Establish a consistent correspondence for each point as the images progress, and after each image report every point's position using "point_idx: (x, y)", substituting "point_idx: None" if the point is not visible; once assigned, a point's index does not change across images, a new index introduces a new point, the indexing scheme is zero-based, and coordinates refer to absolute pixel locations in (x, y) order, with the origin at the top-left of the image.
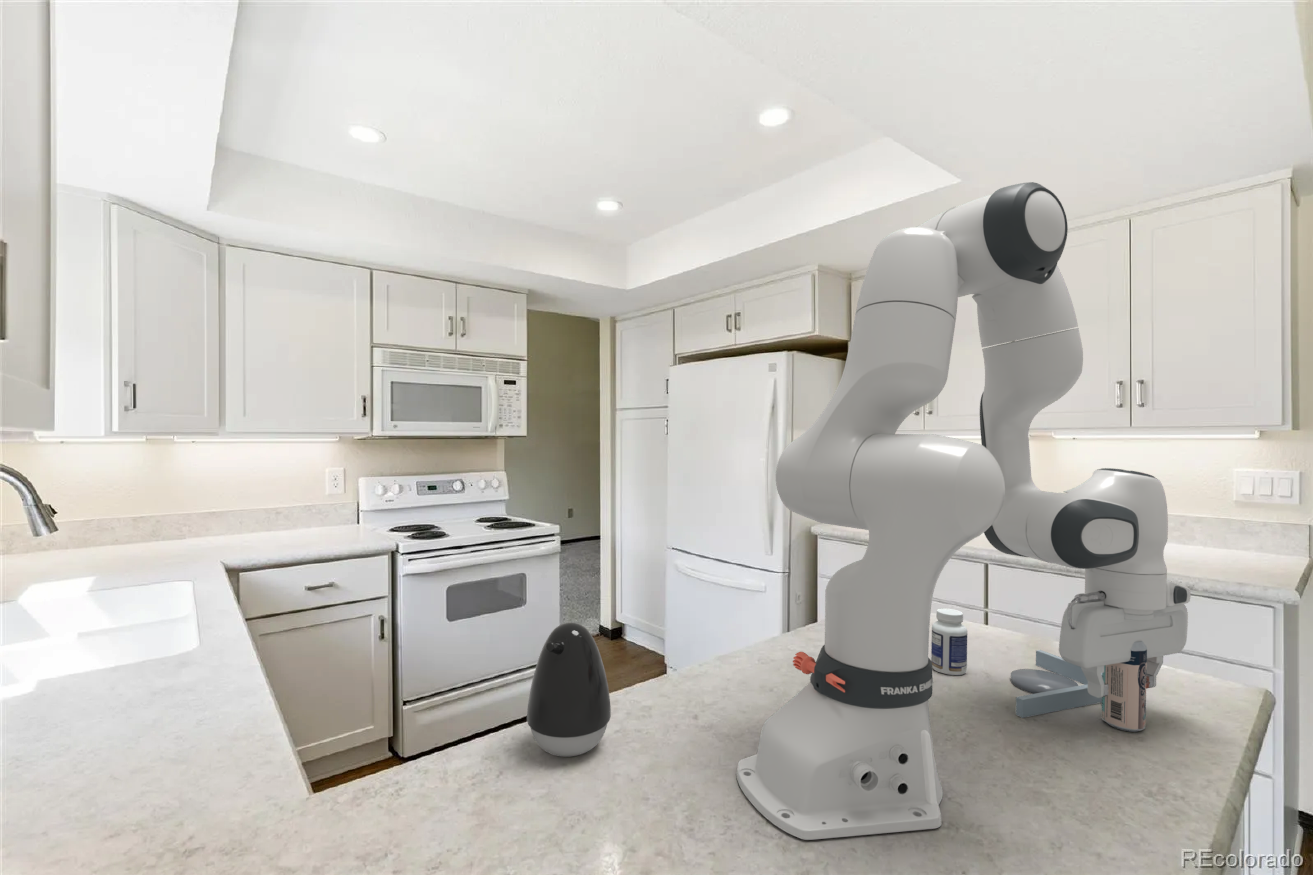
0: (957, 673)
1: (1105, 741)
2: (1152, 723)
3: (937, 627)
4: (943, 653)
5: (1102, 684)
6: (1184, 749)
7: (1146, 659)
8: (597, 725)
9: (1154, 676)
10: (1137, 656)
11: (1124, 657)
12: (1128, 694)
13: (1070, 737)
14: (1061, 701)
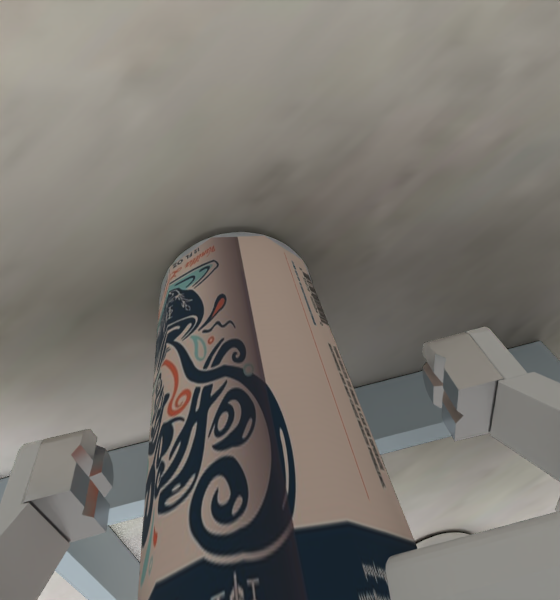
0: (452, 537)
1: (440, 174)
2: (85, 305)
3: None
4: None
5: (520, 378)
6: (134, 64)
7: None
8: None
9: (19, 499)
10: None
11: (491, 588)
12: (311, 348)
13: (536, 213)
14: (370, 411)
